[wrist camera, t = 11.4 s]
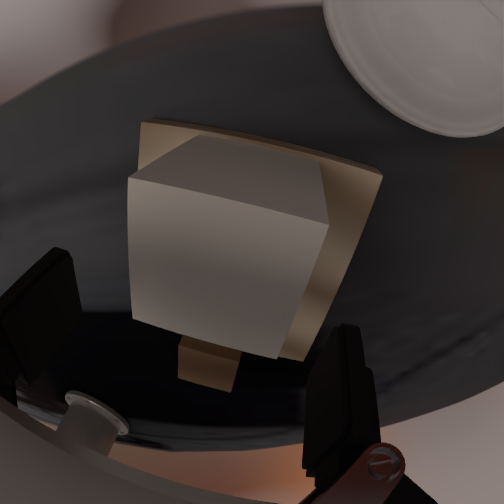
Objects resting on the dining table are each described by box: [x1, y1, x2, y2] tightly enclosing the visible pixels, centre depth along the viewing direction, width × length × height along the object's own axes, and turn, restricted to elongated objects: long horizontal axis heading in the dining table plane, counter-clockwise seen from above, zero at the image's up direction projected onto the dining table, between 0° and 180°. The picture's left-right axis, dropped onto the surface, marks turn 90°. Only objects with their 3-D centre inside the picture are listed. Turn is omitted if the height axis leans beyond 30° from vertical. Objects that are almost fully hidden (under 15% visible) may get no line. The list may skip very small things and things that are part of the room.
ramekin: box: [322, 0, 504, 138], centre depth 10 cm, size 11×11×5 cm
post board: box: [138, 118, 383, 392], centre depth 18 cm, size 16×14×7 cm
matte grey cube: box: [128, 134, 329, 359], centre depth 14 cm, size 7×7×8 cm
